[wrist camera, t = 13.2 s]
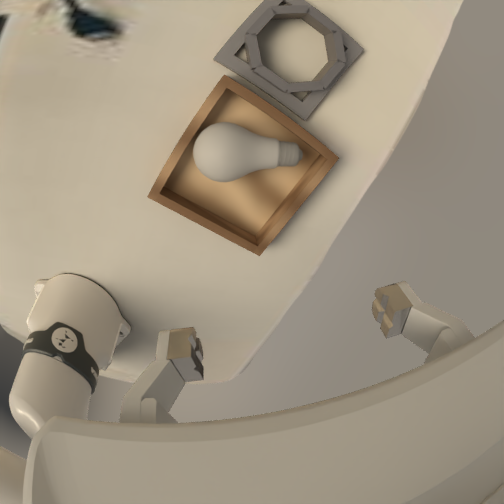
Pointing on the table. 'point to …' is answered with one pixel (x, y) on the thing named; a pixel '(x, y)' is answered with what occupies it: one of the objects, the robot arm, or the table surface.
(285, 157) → the lightbulb
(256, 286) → the table surface
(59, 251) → the table surface
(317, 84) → the socket
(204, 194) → the tray
